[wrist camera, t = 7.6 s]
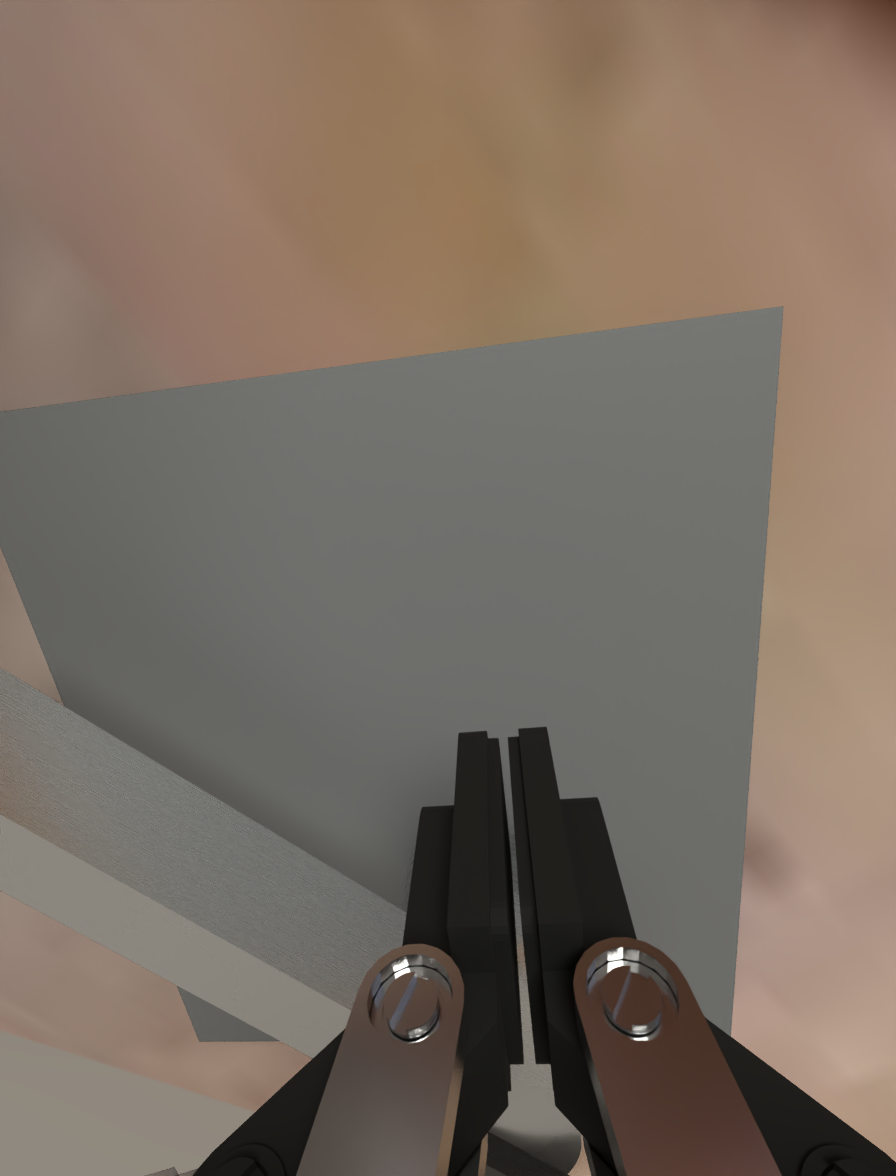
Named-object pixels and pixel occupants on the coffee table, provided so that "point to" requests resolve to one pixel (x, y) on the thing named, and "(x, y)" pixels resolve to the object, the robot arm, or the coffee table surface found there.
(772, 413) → the stand plate
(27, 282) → the coffee table surface
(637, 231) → the coffee table surface
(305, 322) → the coffee table surface
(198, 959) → the bar with ball ends
